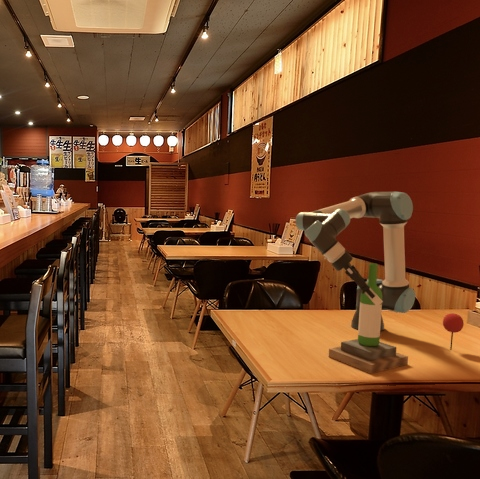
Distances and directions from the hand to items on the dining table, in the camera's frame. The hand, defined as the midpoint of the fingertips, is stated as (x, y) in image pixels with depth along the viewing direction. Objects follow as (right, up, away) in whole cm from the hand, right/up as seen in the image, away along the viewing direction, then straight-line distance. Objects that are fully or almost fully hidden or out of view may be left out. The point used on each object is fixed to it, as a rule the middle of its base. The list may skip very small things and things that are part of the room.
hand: (377, 300), depth 170 cm
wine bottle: (-3, -17, +2) cm, 17 cm away
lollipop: (+36, -23, +21) cm, 48 cm away
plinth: (-3, -22, +2) cm, 23 cm away
